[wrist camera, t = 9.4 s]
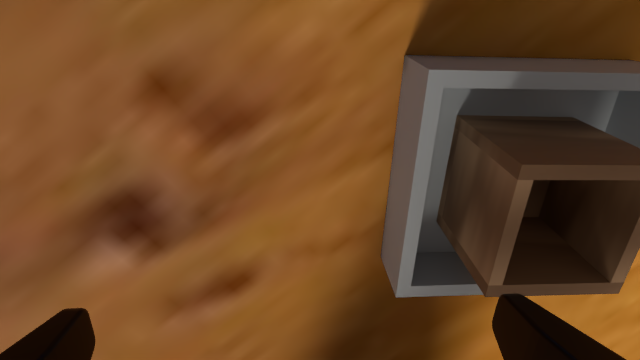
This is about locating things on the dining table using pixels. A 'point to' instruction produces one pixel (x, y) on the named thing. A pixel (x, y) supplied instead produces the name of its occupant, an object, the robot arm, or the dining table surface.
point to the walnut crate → (541, 205)
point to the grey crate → (486, 100)
